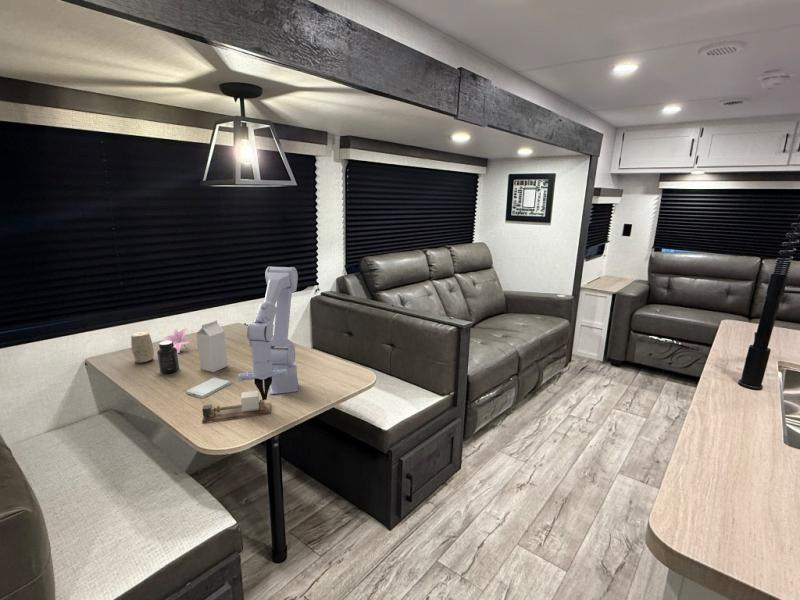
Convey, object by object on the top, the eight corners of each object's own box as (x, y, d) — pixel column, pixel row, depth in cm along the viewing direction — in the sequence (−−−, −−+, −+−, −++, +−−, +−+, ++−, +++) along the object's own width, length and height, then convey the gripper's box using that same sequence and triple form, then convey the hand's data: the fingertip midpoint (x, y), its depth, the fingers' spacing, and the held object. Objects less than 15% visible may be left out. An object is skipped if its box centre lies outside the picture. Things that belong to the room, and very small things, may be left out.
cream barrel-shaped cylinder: (132, 360, 172) (128, 333, 169) (153, 356, 176) (149, 329, 173) (135, 365, 167) (130, 337, 164) (156, 361, 172) (152, 333, 169)
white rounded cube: (259, 404, 136) (258, 390, 135) (259, 410, 133) (257, 396, 131) (242, 406, 135) (241, 392, 133) (242, 412, 131) (241, 398, 130)
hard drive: (213, 376, 156) (185, 390, 145) (230, 381, 153) (202, 395, 142) (214, 380, 156) (185, 394, 145) (230, 385, 153) (202, 399, 142)
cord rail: (270, 404, 138) (269, 394, 138) (270, 413, 133) (270, 403, 132) (204, 413, 132) (203, 402, 132) (202, 422, 127) (201, 412, 126)
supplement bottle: (160, 369, 164) (156, 340, 161) (179, 366, 167) (176, 338, 164) (159, 376, 158) (155, 346, 155) (179, 373, 161) (176, 343, 158)
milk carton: (227, 366, 168) (223, 321, 163) (213, 372, 162) (208, 326, 157) (214, 363, 171) (210, 318, 166) (200, 369, 165) (195, 323, 160)
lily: (164, 349, 187) (155, 335, 180) (189, 335, 193) (181, 320, 186) (176, 364, 181) (167, 350, 174) (201, 348, 187) (193, 334, 180)
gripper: (236, 366, 125) (240, 407, 128) (286, 361, 129) (288, 401, 133) (237, 358, 131) (241, 397, 135) (285, 353, 136) (287, 391, 139)
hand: (264, 398), depth 134 cm, fingers closed
